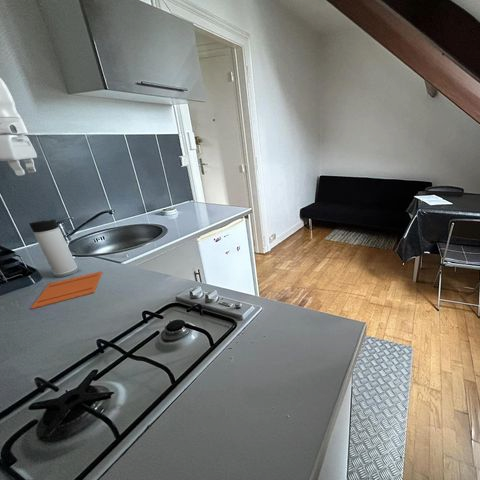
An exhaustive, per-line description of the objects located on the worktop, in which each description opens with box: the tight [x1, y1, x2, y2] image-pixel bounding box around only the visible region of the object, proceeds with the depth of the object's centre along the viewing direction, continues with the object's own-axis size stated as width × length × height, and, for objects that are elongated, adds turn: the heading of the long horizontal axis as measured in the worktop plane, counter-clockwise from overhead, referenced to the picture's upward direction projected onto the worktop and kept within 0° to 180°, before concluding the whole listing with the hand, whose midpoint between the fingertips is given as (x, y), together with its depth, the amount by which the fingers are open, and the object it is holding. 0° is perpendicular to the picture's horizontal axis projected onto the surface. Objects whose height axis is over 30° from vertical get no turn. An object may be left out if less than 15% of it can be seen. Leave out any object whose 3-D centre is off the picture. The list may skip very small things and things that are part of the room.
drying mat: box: [30, 270, 103, 310], centre depth 82 cm, size 14×16×1 cm
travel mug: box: [28, 219, 79, 278], centre depth 89 cm, size 6×7×20 cm
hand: (27, 173), depth 87 cm, fingers open, 8 cm apart
